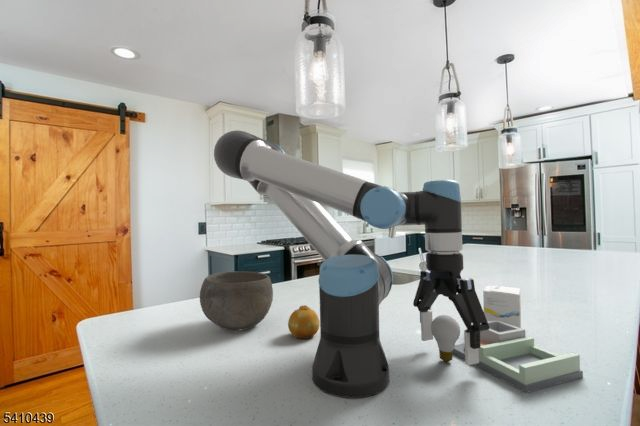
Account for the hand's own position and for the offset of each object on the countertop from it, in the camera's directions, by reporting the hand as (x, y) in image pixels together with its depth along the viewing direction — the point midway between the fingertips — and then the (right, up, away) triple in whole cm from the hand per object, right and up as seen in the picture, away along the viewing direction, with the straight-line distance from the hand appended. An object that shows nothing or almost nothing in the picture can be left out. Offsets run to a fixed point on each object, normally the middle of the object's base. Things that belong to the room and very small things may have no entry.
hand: (447, 350), depth 70 cm
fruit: (-32, -3, +17) cm, 36 cm away
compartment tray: (+13, -2, -1) cm, 13 cm away
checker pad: (+8, -1, +2) cm, 8 cm away
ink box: (+21, -3, +17) cm, 27 cm away
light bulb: (0, -3, 0) cm, 3 cm away
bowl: (-52, -4, +26) cm, 58 cm away
